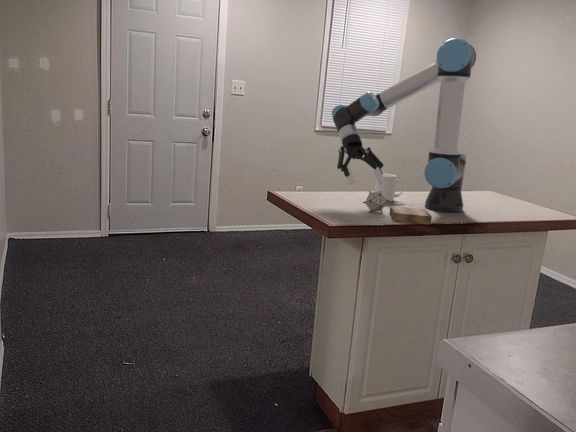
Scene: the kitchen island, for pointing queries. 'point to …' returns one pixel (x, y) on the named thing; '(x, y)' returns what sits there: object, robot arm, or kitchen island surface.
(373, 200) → the game die
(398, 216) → the pedestal
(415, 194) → the kitchen island surface
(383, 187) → the mug
